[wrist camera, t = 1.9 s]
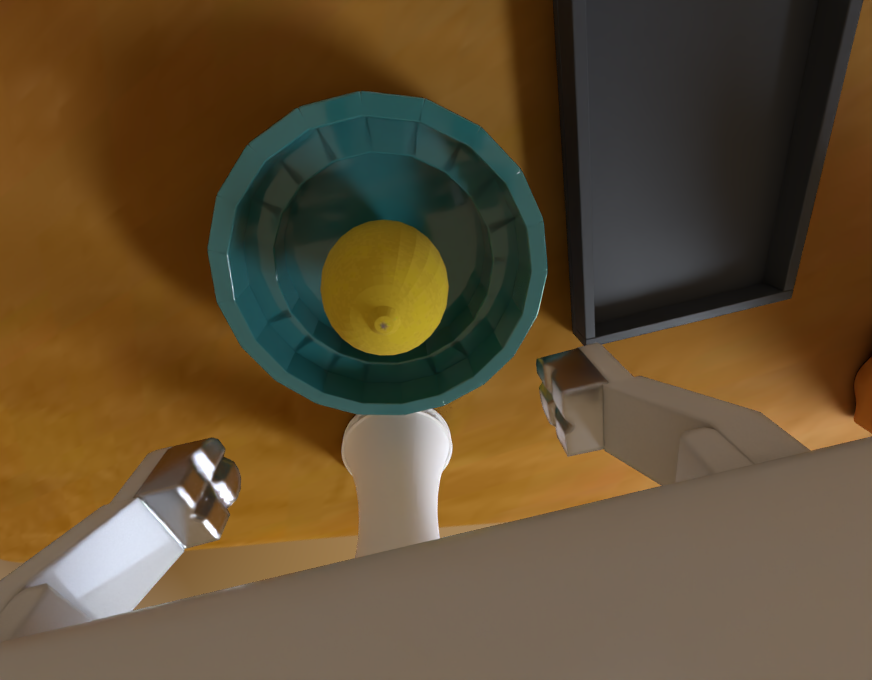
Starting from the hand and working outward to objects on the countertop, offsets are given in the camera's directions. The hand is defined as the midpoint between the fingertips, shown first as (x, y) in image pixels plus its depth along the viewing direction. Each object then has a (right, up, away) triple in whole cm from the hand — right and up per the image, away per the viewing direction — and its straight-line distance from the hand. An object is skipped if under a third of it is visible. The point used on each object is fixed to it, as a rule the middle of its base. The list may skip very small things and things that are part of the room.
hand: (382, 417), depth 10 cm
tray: (+14, +12, +10) cm, 21 cm away
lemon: (-1, +6, +11) cm, 13 cm away
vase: (-1, -5, +18) cm, 19 cm away
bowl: (-1, +6, +12) cm, 13 cm away
